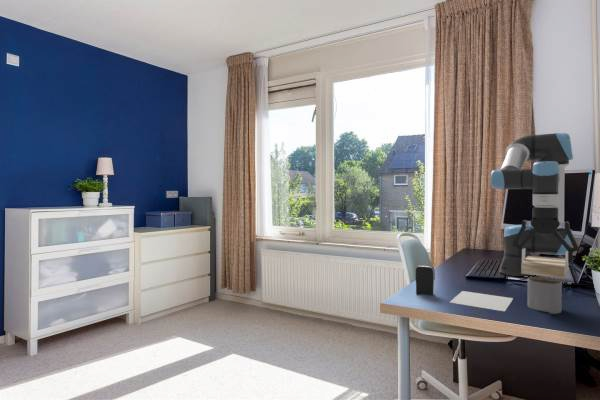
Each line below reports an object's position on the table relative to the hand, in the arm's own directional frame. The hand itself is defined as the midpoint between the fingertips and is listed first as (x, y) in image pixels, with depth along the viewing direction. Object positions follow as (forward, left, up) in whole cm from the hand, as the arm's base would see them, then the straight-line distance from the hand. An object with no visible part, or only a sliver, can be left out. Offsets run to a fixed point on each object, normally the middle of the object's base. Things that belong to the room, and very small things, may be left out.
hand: (544, 269), depth 135 cm
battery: (+7, -39, -14) cm, 42 cm away
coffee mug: (0, 0, -14) cm, 14 cm away
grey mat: (+5, -19, -13) cm, 24 cm away
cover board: (0, 0, -1) cm, 1 cm away
